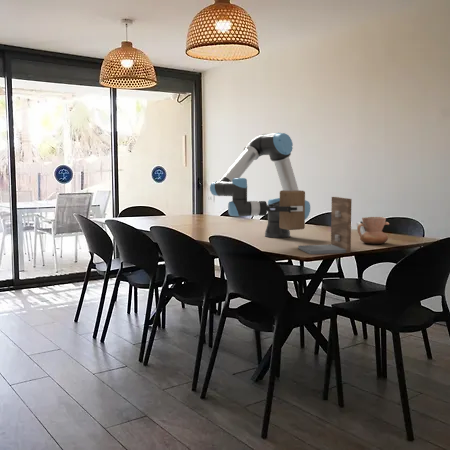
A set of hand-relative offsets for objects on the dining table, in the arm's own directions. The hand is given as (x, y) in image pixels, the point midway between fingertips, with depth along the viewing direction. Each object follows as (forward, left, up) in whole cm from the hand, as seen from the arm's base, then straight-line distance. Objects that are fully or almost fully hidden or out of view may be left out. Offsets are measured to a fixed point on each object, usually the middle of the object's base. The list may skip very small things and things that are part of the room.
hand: (299, 207), depth 273 cm
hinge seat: (+13, -12, -20) cm, 27 cm away
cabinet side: (+21, -8, -20) cm, 31 cm away
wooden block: (-3, -2, -11) cm, 12 cm away
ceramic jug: (+38, +19, -20) cm, 47 cm away
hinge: (+33, +52, -21) cm, 65 cm away
